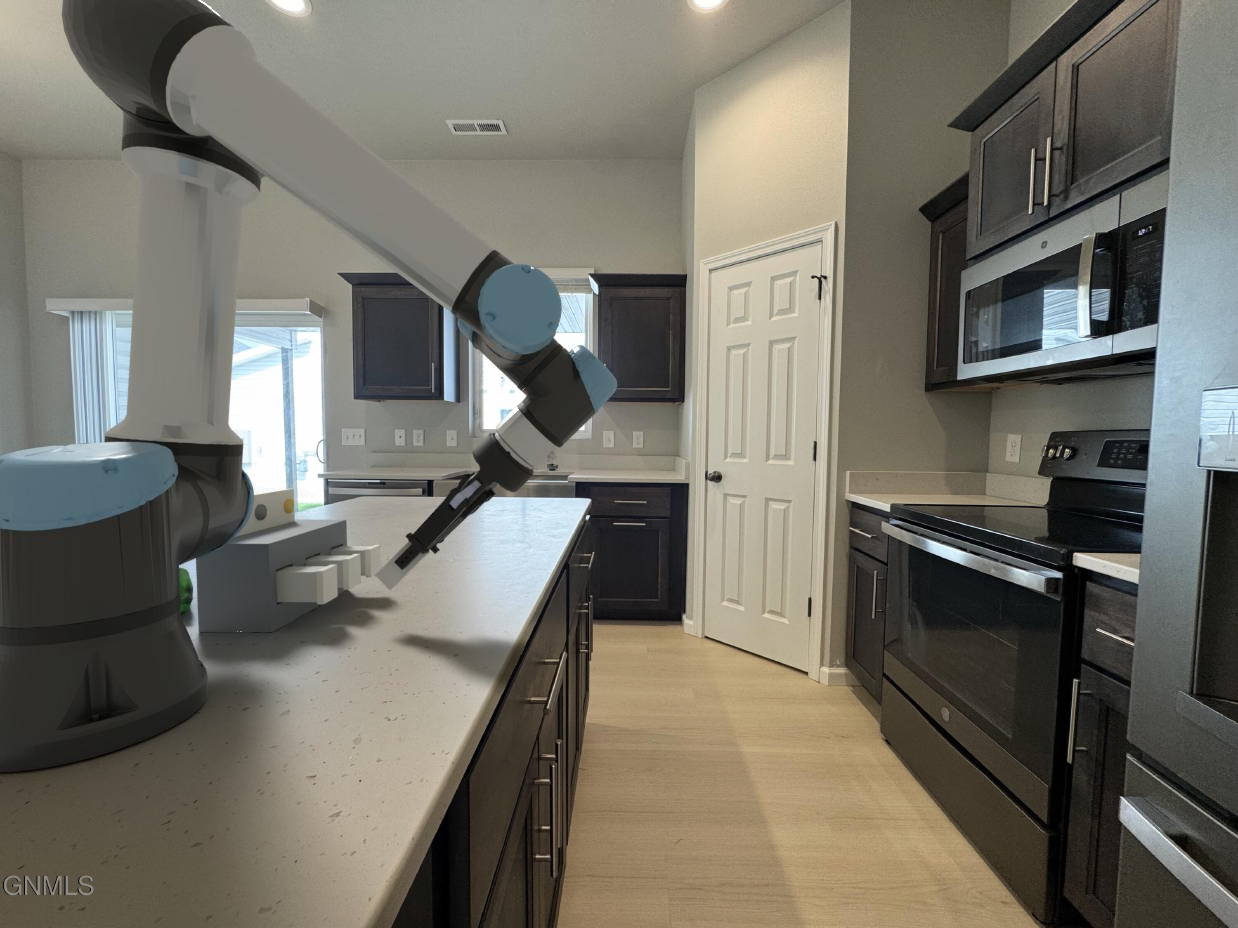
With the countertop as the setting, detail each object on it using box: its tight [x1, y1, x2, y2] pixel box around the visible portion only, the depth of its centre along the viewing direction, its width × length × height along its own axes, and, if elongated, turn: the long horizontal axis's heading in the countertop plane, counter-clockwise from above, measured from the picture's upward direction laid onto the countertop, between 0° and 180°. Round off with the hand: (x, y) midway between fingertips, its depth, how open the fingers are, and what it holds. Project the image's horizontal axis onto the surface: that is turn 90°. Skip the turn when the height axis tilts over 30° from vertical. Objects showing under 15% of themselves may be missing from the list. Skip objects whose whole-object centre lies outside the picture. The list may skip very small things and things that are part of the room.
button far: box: [331, 544, 382, 578], centre depth 84 cm, size 3×8×4 cm, turn 89°
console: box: [195, 519, 348, 633], centre depth 78 cm, size 19×9×11 cm, turn 179°
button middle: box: [306, 554, 362, 591], centre depth 78 cm, size 3×8×4 cm, turn 89°
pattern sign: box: [235, 488, 296, 537], centre depth 77 cm, size 16×1×5 cm, turn 179°
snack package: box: [179, 567, 194, 614], centre depth 77 cm, size 7×16×5 cm, turn 39°
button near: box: [276, 565, 339, 605], centre depth 71 cm, size 3×8×4 cm, turn 89°
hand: (385, 581), depth 71 cm, fingers closed
